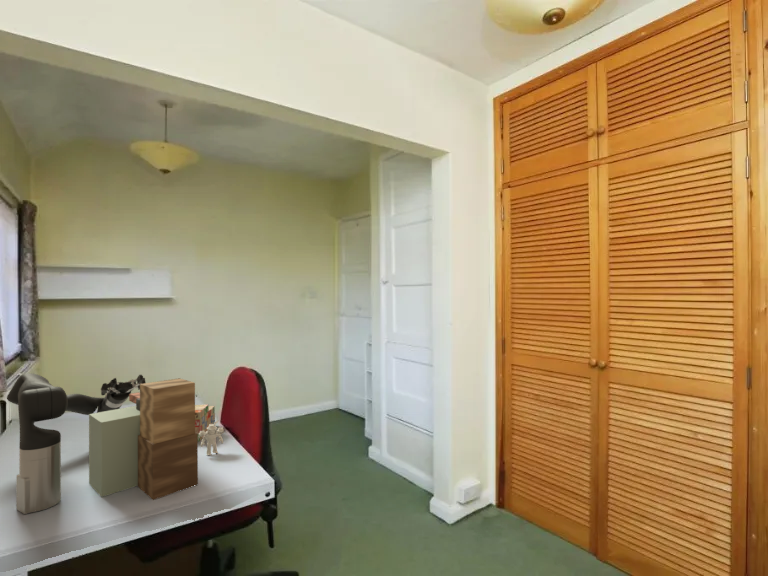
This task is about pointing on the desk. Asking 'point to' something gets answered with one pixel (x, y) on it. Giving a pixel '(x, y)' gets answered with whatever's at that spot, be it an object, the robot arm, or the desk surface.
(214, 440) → the cream toy figurine
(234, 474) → the desk surface
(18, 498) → the robot arm
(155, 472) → the tower
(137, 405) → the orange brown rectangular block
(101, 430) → the upright pale green block
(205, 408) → the stack of blocks
